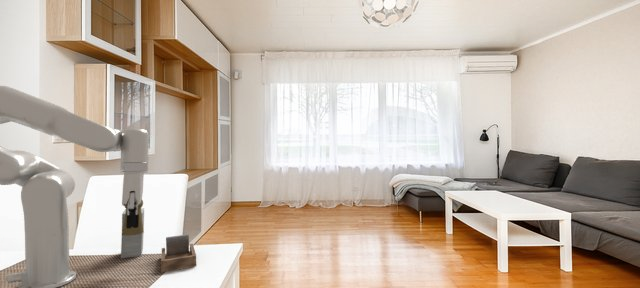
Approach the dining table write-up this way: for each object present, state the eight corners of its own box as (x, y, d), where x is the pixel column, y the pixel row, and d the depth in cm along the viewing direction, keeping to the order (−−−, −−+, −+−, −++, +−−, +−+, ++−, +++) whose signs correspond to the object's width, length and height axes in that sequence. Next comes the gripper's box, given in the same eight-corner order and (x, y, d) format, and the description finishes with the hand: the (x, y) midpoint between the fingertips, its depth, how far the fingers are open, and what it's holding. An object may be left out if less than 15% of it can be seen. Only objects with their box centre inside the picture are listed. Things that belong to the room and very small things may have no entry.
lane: (161, 272, 97) (161, 261, 97) (161, 257, 110) (161, 248, 110) (196, 266, 102) (196, 255, 102) (192, 252, 114) (192, 243, 114)
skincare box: (123, 252, 117) (122, 208, 117) (145, 249, 120) (144, 206, 120) (120, 259, 109) (119, 213, 109) (143, 256, 112) (143, 211, 112)
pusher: (166, 255, 109) (166, 238, 109) (166, 254, 110) (166, 237, 110) (189, 252, 112) (188, 235, 112) (188, 251, 113) (188, 234, 113)
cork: (134, 236, 97) (135, 199, 97) (116, 234, 98) (117, 198, 98) (148, 231, 103) (149, 197, 103) (131, 229, 104) (132, 196, 104)
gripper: (123, 166, 106) (122, 221, 106) (116, 169, 91) (115, 234, 91) (149, 166, 109) (147, 219, 109) (146, 169, 95) (145, 231, 94)
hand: (133, 225), depth 100 cm, fingers closed on cork, 3 cm apart
